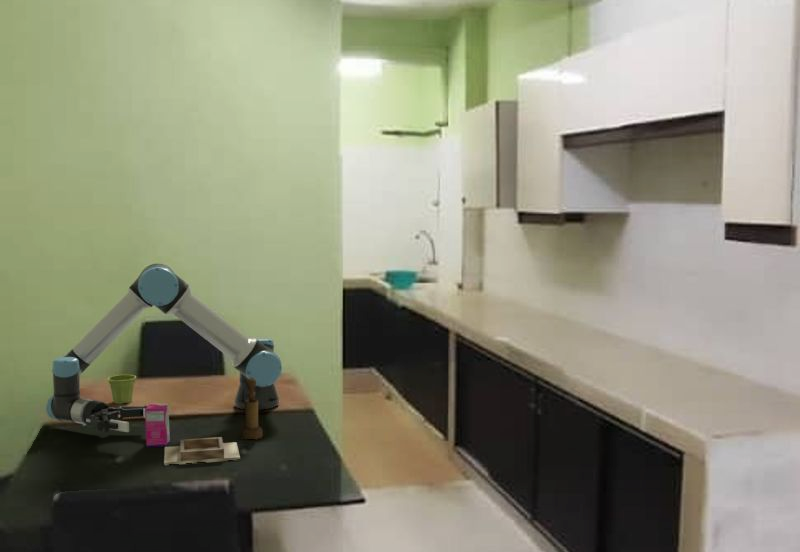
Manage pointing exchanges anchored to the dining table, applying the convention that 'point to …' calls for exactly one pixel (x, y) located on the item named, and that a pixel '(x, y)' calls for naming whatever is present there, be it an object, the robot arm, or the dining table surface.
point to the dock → (201, 451)
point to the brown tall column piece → (251, 414)
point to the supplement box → (157, 425)
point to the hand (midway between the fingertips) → (145, 421)
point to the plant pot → (122, 388)
